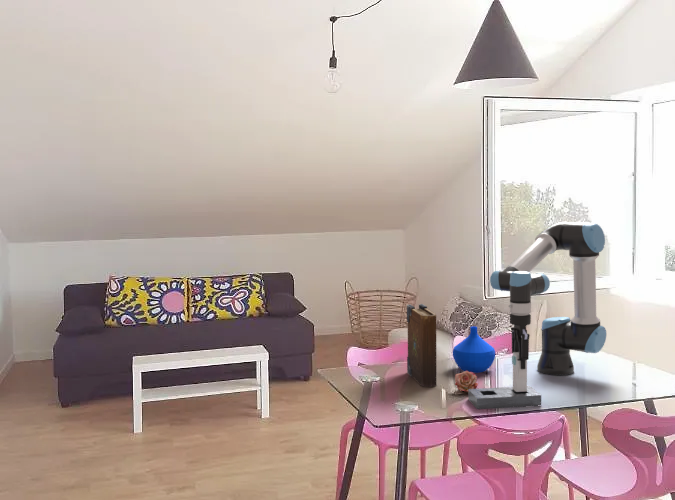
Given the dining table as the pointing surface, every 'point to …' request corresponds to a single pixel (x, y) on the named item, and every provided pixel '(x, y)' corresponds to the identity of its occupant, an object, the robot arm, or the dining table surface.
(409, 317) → the decorative book
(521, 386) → the plug
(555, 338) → the robot arm
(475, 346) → the vase
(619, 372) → the dining table surface
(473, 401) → the panel
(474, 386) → the flower
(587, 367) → the dining table surface
